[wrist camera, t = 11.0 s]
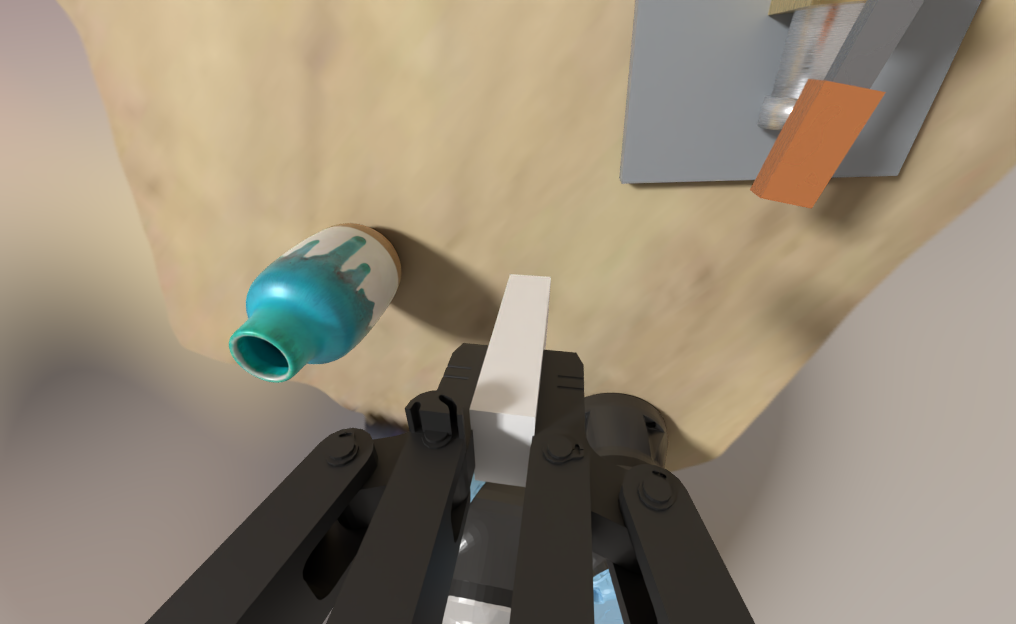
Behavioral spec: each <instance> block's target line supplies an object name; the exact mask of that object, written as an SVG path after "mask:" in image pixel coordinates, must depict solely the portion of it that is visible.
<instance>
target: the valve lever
mask: <svg viewBox="0 0 1016 624" xmlns="http://www.w3.org/2000/svg"><path fill="white" fill-rule="evenodd" d="M923 2H924V0H867V1H866V3H865V5H864V7H863V8H862V10H861V12H860V14H859V16H858V18H857V19H856V21H855V23H854V25H853V27H852V29H851V30H850V32H849V34H848V36H847V38H846V39H845V41H844V43H843V45H842V47H841V49H840V50H839V52H838V54H837V56H836V58H835V60H834V61H833V63H832V65H831V67H830V69H829V71H828V72H827V74H826V76H825V78H824V80H814V79H808V81H807V82H806V84H805V86H804V88H803V90H802V92H801V94H800V96H799V98H798V100H797V101H796V103H795V105H794V107H793V109H792V111H791V113H790V115H789V117H788V118H787V120H786V122H785V124H784V126H783V128H782V130H781V132H780V134H779V136H778V137H777V139H776V141H775V143H774V145H773V147H772V149H771V151H770V153H769V155H768V156H767V158H766V160H765V162H764V164H763V166H762V168H761V170H760V172H759V174H758V175H757V177H756V179H755V181H754V183H753V185H752V187H751V189H750V190H751V191H752V192H753V193H755V194H756V195H757V196H759V197H760V198H763V199H768V200H773V201H778V202H783V203H787V204H792V205H797V206H802V207H807V208H812V207H813V206H814V204H815V202H816V201H817V199H818V198H819V196H820V195H821V193H822V192H823V190H824V188H825V187H826V185H827V184H828V182H829V181H830V179H831V177H832V176H833V174H834V173H835V171H836V170H837V168H838V166H839V165H840V163H841V162H842V160H843V159H844V157H845V155H846V154H847V152H848V151H849V149H850V148H851V146H852V145H853V143H854V141H855V140H856V138H857V137H858V135H859V134H860V132H861V130H862V129H863V127H864V126H865V124H866V123H867V121H868V119H869V118H870V116H871V115H872V113H873V112H874V110H875V109H876V107H877V105H878V104H879V102H880V101H881V99H882V98H883V96H884V94H885V93H886V92H882V91H877V90H872V89H870V88H871V87H872V85H873V83H874V82H875V80H876V78H877V77H878V75H879V74H880V72H881V70H882V69H883V67H884V65H885V64H886V62H887V61H888V59H889V57H890V56H891V54H892V52H893V51H894V49H895V48H896V46H897V44H898V43H899V41H900V39H901V38H902V36H903V35H904V33H905V31H906V30H907V28H908V26H909V25H910V23H911V22H912V20H913V18H914V17H915V15H916V13H917V12H918V10H919V9H920V7H921V5H922V4H923Z"/></svg>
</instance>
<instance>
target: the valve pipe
mask: <svg viewBox="0 0 1016 624" xmlns="http://www.w3.org/2000/svg"><path fill="white" fill-rule="evenodd" d="M866 1H867V0H771V4H770V8H769V12H768V15H777V14H788V13H793V17H792V20H791V24H790V28H789V31H788V35H787V39H786V42H785V46H784V50H783V53H782V57H781V61H780V64H779V68H778V72H777V75H776V79H775V83H774V86H773V90H772V94H770V95H766V96H765V97H764V101H763V104H762V108H761V112H760V116H759V119H758V123H757V126H758V127H760V128H765V129H772V130H782V128H783V126H784V124H785V122H786V120H787V118H788V117H789V115H790V113H791V111H792V109H793V107H794V105H795V103H796V101H797V100H798V98H799V96H800V94H801V92H802V90H803V88H804V86H805V84H806V82H807V81H808V79H814V80H824V78H825V76H826V74H827V72H828V71H829V69H830V67H831V65H832V63H833V61H834V60H835V58H836V56H837V54H838V52H839V50H840V49H841V47H842V45H843V43H844V41H845V39H846V38H847V36H848V34H849V32H850V30H851V29H852V27H853V25H854V23H855V21H856V19H857V18H858V16H859V14H860V12H861V10H862V8H863V7H864V5H865V3H866Z"/></svg>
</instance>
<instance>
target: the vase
mask: <svg viewBox="0 0 1016 624" xmlns="http://www.w3.org/2000/svg"><path fill="white" fill-rule="evenodd" d="M400 280H401V264H400V260H399V257H398V255H397V252H396V250H395V249H394V247H393V246H392V244H391V243H390V242H389V241H388V240H387V239H386V238H385V237H384V236H383V235H382V234H380V233H379V232H377V231H375V230H374V229H372V228H369V227H367V226H363V225H360V224H352V223H347V224H339V225H335V226H331V227H329V228H326V229H324V230H322V231H320V232H318V233H316V234H314V235H312V236H310V237H309V238H307V239H305V240H303V241H302V242H300V243H299V244H297V245H296V246H294V247H293V248H291V249H290V250H289V251H287V252H286V253H284V254H283V255H282V256H280V257H279V258H278V259H276V260H275V261H274V262H273V263H271V264H270V265H269V266H268V267H267V268H266V269H265V270H264V271H262V272H261V273H260V275H259V276H258V277H257V278H256V279H255V280H254V282H253V283H252V285H251V286H250V289H249V291H248V294H247V298H246V311H247V315H248V320H247V321H246V322H245V323H244V324H243V325H242V326H241V327H240V328H239V329H237V330H236V331H235V332H234V334H233V335H232V336H231V338H230V340H229V349H230V352H231V354H232V356H233V358H234V359H235V361H236V362H237V363H238V364H239V365H240V366H241V367H242V368H243V369H244V370H246V371H247V372H248V373H250V374H251V375H253V376H255V377H257V378H259V379H262V380H265V381H269V382H278V383H279V382H284V381H287V380H289V379H291V378H292V377H293V376H294V375H296V374H297V373H298V372H299V371H300V370H301V369H302V368H303V367H304V366H305V365H306V364H324V363H329V362H332V361H335V360H337V359H339V358H341V357H343V356H345V355H346V354H347V353H348V352H350V351H351V350H352V349H353V348H354V347H355V346H356V345H357V344H359V343H360V341H361V340H362V339H363V338H364V337H365V336H366V335H367V334H368V333H369V331H370V330H371V329H372V328H373V326H374V325H375V324H376V322H377V321H378V320H379V318H380V317H381V316H382V314H383V313H384V312H385V310H386V309H387V307H388V306H389V304H390V303H391V301H392V299H393V297H394V296H395V293H396V291H397V289H398V287H399V284H400Z"/></svg>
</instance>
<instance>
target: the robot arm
mask: <svg viewBox="0 0 1016 624" xmlns="http://www.w3.org/2000/svg"><path fill="white" fill-rule="evenodd" d="M550 283H551V277H543V276H529V275H515V274H510V277H509V280H508V283H507V286H506V290H505V293H504V296H503V300H502V303H501V306H500V310H499V313H498V316H497V320H496V323H495V326H494V330H493V333H492V336H491V340H490V343H489V345H478V344H468V343H463V344H462V345H461V346H460V347H459V348H458V349H456V350H455V351H454V352H453V353H452V356H451V358H450V361H449V363H448V367H447V368H446V370H445V373H444V376H443V377H442V380H441V382H440V385H439V387H438V389H437V391H428V392H425V393H422V394H420V395H418V396H417V397H415V398H414V399H412V400H411V401H410V402H409V404H408V405H407V406H406V407H405V412H406V416H407V421H408V425H409V430H410V431H409V432H407V433H405V434H401V435H397V436H393V437H387V438H380V439H374V440H372V438H371V436H370V434H369V433H367V432H366V431H364V430H363V429H357V428H349V429H342V430H340V431H337V432H335V433H333V434H331V435H329V436H328V437H327V438H325V439H324V440H323V441H322V442H320V443H319V444H318V445H317V446H316V447H315V449H314V450H313V451H312V452H311V453H310V454H309V455H308V456H307V457H306V458H305V459H304V460H303V461H302V462H301V463H300V464H299V465H298V466H297V467H296V468H295V469H294V470H293V471H292V472H291V473H290V474H289V475H288V476H287V477H286V478H285V480H284V481H283V482H282V483H281V484H280V485H279V486H278V487H277V488H276V489H275V490H274V491H273V492H272V493H271V494H270V495H269V496H268V497H267V498H266V499H265V500H264V501H263V502H262V503H261V504H260V505H259V506H258V507H257V508H256V509H255V510H254V511H253V512H252V514H251V515H250V516H249V517H248V518H247V519H246V520H245V521H244V522H243V523H242V524H241V525H240V526H239V527H238V528H237V529H236V530H235V531H234V532H233V533H232V534H231V535H230V536H229V537H228V538H227V539H226V540H225V541H224V543H222V544H221V545H220V547H219V548H218V549H217V550H216V551H215V552H214V553H213V554H212V555H211V556H210V557H209V558H208V559H207V560H206V561H205V562H204V563H203V564H202V565H201V566H200V567H199V568H198V569H197V570H196V571H195V572H194V573H193V574H192V575H191V576H190V577H189V579H188V580H187V581H186V582H185V583H184V584H183V585H182V586H181V587H180V588H179V589H178V590H177V591H176V592H175V593H174V594H173V595H172V596H171V597H170V598H169V599H168V600H167V601H166V602H165V603H164V604H163V605H162V606H161V607H160V609H158V610H157V612H156V613H155V614H154V615H153V616H152V617H151V618H150V619H149V620H148V621H147V622H146V623H145V624H322V623H323V622H324V620H325V619H326V617H327V616H328V614H329V612H330V611H331V610H332V611H331V614H330V616H329V618H328V621H327V623H326V624H755V623H754V621H753V619H752V617H751V615H750V613H749V611H748V609H747V607H746V605H745V603H744V601H743V599H742V597H741V595H740V593H739V591H738V589H737V587H736V585H735V583H734V581H733V580H732V578H731V576H730V574H729V572H728V570H727V568H726V566H725V564H724V562H723V560H722V558H721V556H720V554H719V552H718V550H717V548H716V546H715V544H714V542H713V540H712V539H711V536H710V535H709V533H708V531H707V529H706V527H705V525H704V523H703V521H702V519H701V517H700V515H699V513H698V511H697V509H696V507H695V505H694V503H693V501H692V500H691V498H690V496H689V493H688V491H687V490H686V488H685V487H684V486H683V484H682V483H681V481H680V480H679V479H678V478H677V477H676V476H674V475H673V474H672V473H671V472H669V471H668V470H666V469H664V465H665V459H666V453H667V447H668V435H667V430H666V426H665V422H664V420H663V418H662V416H661V414H660V413H659V412H658V411H657V410H656V409H655V408H654V407H653V406H652V405H650V404H649V403H647V402H645V401H644V400H641V399H639V398H636V397H633V396H630V395H625V394H617V393H604V394H596V395H592V396H588V397H585V398H584V368H583V363H582V362H581V360H580V358H579V357H578V355H577V353H573V352H563V351H552V350H545V346H546V337H547V323H548V310H549V296H550ZM332 608H333V609H332Z"/></svg>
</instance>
